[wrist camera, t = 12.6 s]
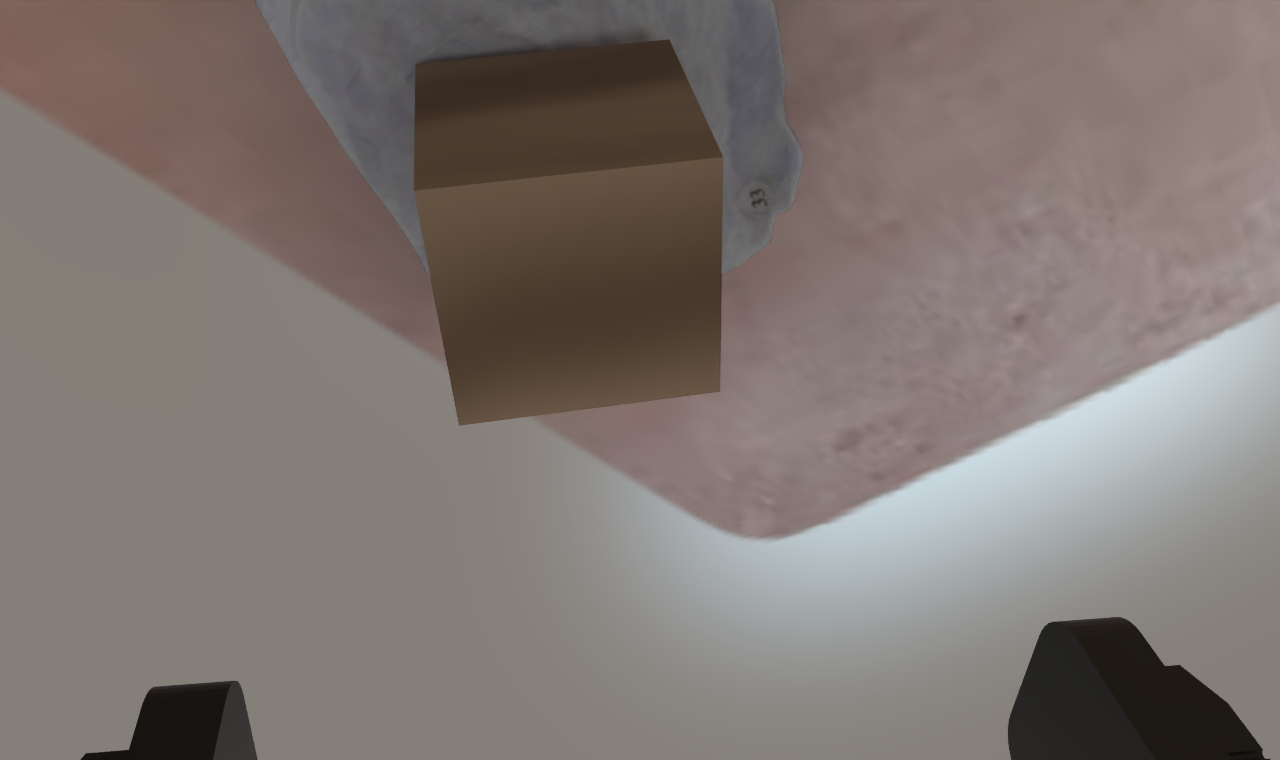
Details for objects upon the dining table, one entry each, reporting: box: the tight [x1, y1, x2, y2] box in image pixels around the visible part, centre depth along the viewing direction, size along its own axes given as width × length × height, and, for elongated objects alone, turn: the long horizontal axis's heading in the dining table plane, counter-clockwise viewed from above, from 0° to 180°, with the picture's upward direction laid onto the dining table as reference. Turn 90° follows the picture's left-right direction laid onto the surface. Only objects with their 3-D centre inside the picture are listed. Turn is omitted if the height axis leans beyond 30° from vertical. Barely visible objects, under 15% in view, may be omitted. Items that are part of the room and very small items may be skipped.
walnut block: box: [414, 39, 723, 425], centre depth 21 cm, size 5×5×5 cm
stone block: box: [255, 0, 803, 276], centre depth 24 cm, size 12×5×10 cm
